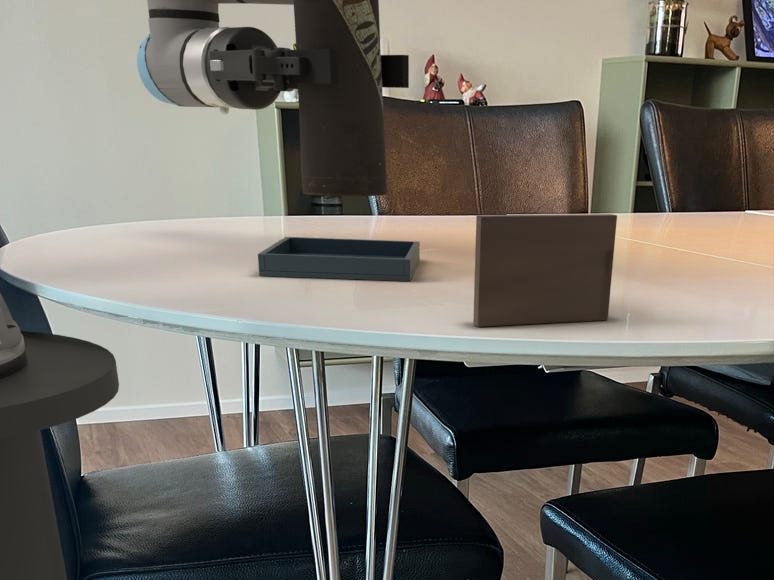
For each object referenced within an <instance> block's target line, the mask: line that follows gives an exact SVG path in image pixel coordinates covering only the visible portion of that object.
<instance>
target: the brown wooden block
mask: <svg viewBox="0 0 774 580" xmlns="http://www.w3.org/2000/svg"><path fill="white" fill-rule="evenodd" d="M475 219H476V221H475V252H474V254H475V255H474V284H473V285H474V286H473V287H474V289H473V293H474V294H473V320H472V321H473V322H472V323H473V324H472V325H473V326H476V327H478V328H485V327H487V328H488V327H503V326H504V327H505V326H506V327H507V326H524V325H525V326H526V325H540V324H541V325H543V324H560V323H561V324H562V323H578V322H595V321H608V320H609V309H610V299H611V289H612V278H613V269H614V268H613V265H614V254H615V244H616V233H617V223H618V222H617V221H618V215H617V214H613V213H589V214H588V213H580V214H579V213H578V214H577V213H576V214H573V213H572V214H569V213H567V214H565V213H564V214H476V217H475Z"/></svg>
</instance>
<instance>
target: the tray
mask: <svg viewBox="0 0 774 580" xmlns="http://www.w3.org/2000/svg"><path fill="white" fill-rule="evenodd" d="M420 244H421V241H417V240H416V241H414V240H413V241H412V240H388V239H387V240H386V239H359V238H358V239H357V238H356V239H355V238H334V237H333V238H331V237H329V238H328V237H304V236H303V237H299V236H285V237H283V238H281V239H280V240H278V241H277V242H275V243H274V244H271V245H270V246H269V247H267V248H266V249H264V250H261V252H258V253H257V262H258V263H257V264H258V275H259V277H276V278H277V277H278V278H279V277H280V278H309V279H333V280H334V279H335V280H336V279H337V280H364V281H390V282H391V281H392V282H393V281H394V282H411V280H412V278H413V276H414V273H415V272H416V270H417V267H418V265H419V263H420V259H421V257H420V255H421V253H420V251H421V250H420V249H421V245H420Z"/></svg>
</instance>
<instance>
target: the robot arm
mask: <svg viewBox="0 0 774 580" xmlns="http://www.w3.org/2000/svg"><path fill="white" fill-rule="evenodd" d="M146 2H147V10H148V18H147V20H148V21H147V22H148V30H149V34H147V35H146V36H145V37H144V38H143V39H142V41H141V42H140V44H139V48H138V51H137V55H136V67H137V72H138V76H139V78H140V80H141V83H142V84H143V86H144V87H145V89H146V90H147V92H149V94H151V95H152V96H153V97H154V98H155V99H157V100H158V101H160V102H162V103H165V104H169V105H173V106H174V105H175V106H177V107H183V108H219V112H220V114H222V115H228V114H229V112H230V109H238V110H252V111H253V110H256V111H257V110H263V109H267V108H268V107H270V106H271V105H273V103H274V102H275V101H276V100H277V99H278V97H279V96H280V95H281V92H289V93H290V92H293V91H294V90H298V84H338V79H337V50H335V49H309V50H296V49H291V48H289V47H281V46H280V47H278V46H277V44H276V43H275V41H274V40H273V39H272V38H271V36H269V35H268V33H266V32H265V31H263V30H262V29H259V28H257V27H253V26H235V27H234V26H233V27H230V26H221V27H220V14H219V4H220V5H221V4H224V5H225V4H226V5H227V4H228V5H229V4H233V5H234V4H236V5H237V4H239V5H240V4H244V5H245V4H250V5H251V4H255V5H283V6H284V5H285V6H287V5H288V6H291V5H292V6H294V2H293V0H146ZM409 57H410V56H409V55H408V54H381V68H382V88H390V89H391V88H392V89H393V88H394V89H409V85H410V81H409V79H410V78H409V77H410V75H409V74H410V71H409V70H410V69H409V67H410V61H409V60H410V58H409ZM20 331H21V329H20V327H19V325H18V323H17V322H16V321H15V320H14V319H13V316H12V314H11V312H10V310H9V307H8V305H7V303H6V301H5V299H4V297H3V295H2V293H1V292H0V379H1V378H4V377H7V376H10V375H12V374H14V373H16V372H18V371H20V370H21V369H22V368H24V367H25V366H26V364H27V355H26V350H25V344H24V339H23V335H22V334H21V332H20Z"/></svg>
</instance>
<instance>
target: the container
mask: <svg viewBox="0 0 774 580" xmlns="http://www.w3.org/2000/svg"><path fill="white" fill-rule="evenodd" d="M293 2H294V5H293V17H294V35H295V50H309V49H335V50H337V79H338V84H298V89H297V93H298V97H297V98H298V118H299V119H298V121H299V141H300V143H299V144H300V167H301V169H300V171H301V186H302V193H303V195H306V196H319V197H378V196H380V197H381V196H386V195H387V194H388V181H387V180H388V179H387V161H386V159H387V158H386V157H387V156H386V141H385V140H386V137H385V136H386V135H385V117H384V115H385V114H384V97H383V96H384V95H383V93H384V92H383V87H382V68H381V55H382V54H381V53H382V52H381V29H380V27H381V26H380V25H381V23H380V2H379V0H293Z"/></svg>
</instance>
